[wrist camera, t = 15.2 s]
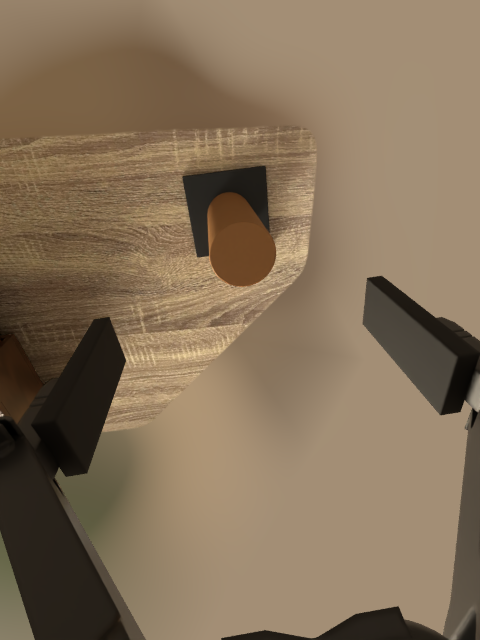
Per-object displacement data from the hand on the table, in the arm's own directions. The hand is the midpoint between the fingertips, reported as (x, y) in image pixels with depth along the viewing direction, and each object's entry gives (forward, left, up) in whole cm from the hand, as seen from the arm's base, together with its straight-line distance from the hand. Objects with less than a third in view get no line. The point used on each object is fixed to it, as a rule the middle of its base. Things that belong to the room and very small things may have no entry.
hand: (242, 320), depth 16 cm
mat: (0, +1, -28) cm, 28 cm away
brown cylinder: (0, +1, -27) cm, 27 cm away
